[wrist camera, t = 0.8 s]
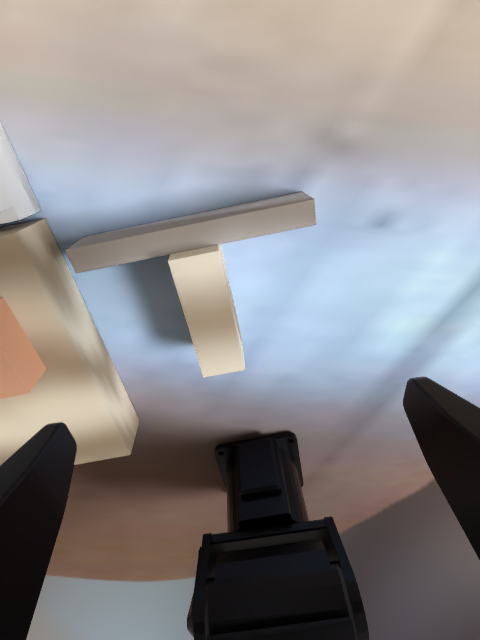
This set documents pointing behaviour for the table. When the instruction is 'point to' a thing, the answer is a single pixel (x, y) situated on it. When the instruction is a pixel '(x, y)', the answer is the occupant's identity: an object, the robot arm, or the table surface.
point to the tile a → (16, 357)
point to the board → (60, 353)
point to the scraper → (199, 264)
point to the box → (13, 186)
